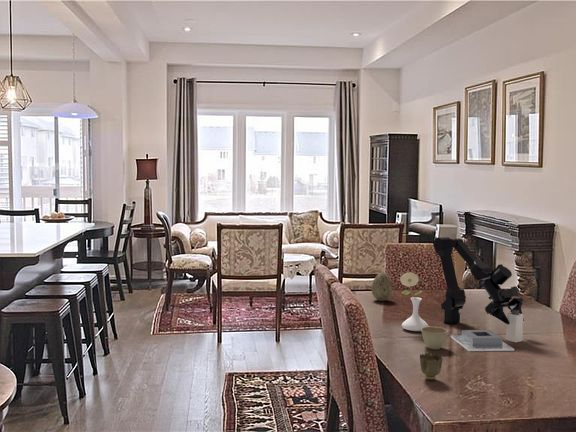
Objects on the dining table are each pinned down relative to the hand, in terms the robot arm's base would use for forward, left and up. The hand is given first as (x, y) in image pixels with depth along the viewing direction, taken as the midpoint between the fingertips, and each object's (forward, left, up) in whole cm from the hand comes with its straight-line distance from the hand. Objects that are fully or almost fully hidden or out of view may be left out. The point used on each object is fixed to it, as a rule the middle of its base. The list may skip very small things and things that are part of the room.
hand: (516, 322), depth 258 cm
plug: (0, 0, -7) cm, 8 cm away
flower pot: (-30, -24, -8) cm, 39 cm away
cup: (-26, -62, -8) cm, 67 cm away
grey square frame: (-13, -11, -7) cm, 18 cm away
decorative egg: (-67, +52, -8) cm, 85 cm away
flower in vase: (-42, 0, -8) cm, 42 cm away
